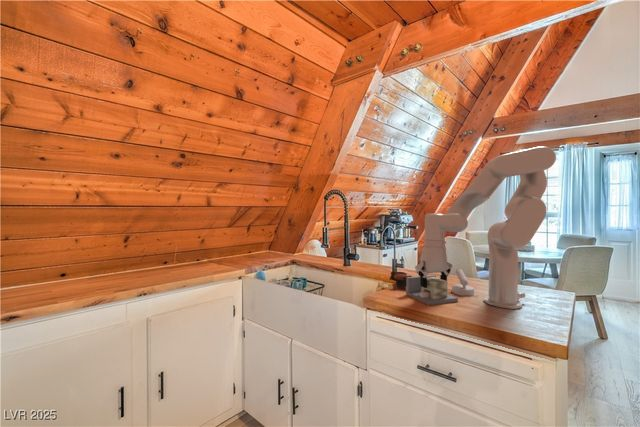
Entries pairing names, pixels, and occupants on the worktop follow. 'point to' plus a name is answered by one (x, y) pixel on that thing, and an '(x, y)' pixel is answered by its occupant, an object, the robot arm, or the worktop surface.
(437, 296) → the saddle block
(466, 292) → the wall hook
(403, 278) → the pottery mug
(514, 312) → the worktop surface
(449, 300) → the board
